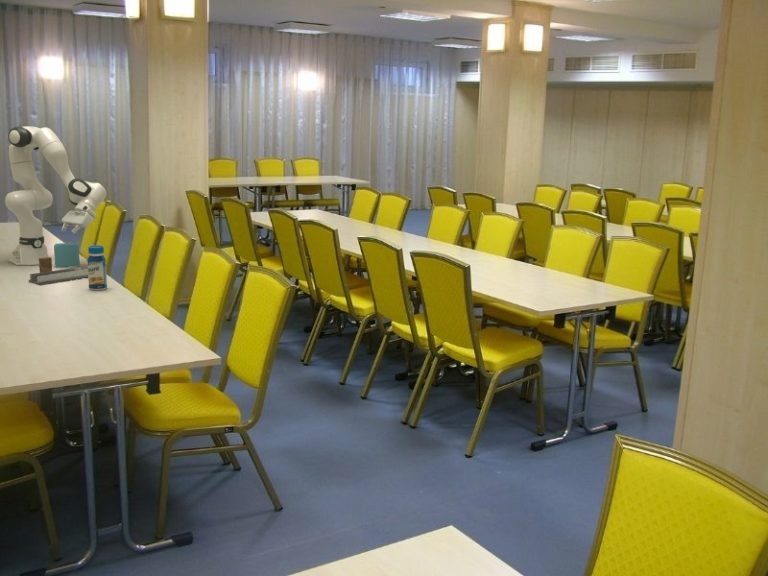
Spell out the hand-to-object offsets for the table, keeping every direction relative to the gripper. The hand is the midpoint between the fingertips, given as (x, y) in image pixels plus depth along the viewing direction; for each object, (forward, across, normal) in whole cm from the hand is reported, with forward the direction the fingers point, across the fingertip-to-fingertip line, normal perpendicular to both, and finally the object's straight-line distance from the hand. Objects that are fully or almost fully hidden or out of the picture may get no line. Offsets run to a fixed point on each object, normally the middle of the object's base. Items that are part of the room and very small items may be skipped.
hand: (67, 231), depth 416 cm
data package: (+9, -16, +20) cm, 27 cm away
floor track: (+24, +12, +6) cm, 27 cm away
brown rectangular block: (+24, -1, +6) cm, 24 cm away
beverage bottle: (+23, +42, +8) cm, 49 cm away
